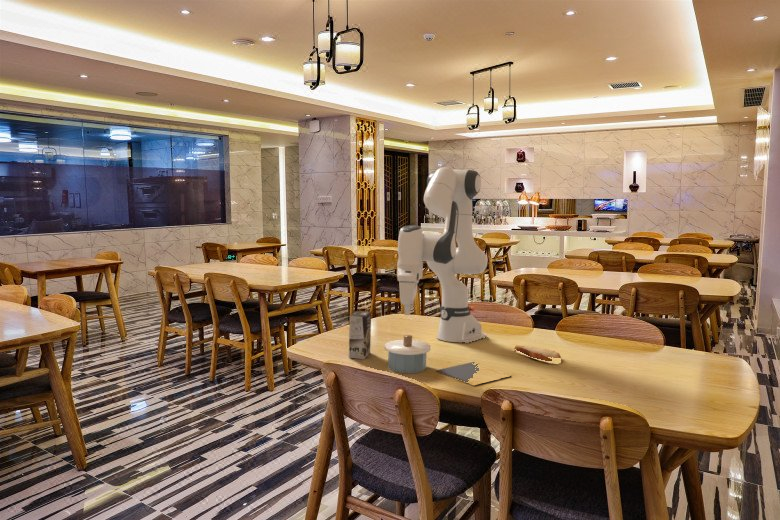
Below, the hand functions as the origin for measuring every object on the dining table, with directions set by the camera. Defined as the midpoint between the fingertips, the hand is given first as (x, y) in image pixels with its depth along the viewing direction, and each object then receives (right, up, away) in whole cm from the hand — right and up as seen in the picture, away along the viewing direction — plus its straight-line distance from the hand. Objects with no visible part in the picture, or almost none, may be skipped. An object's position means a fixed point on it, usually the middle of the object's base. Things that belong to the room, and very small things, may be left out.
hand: (408, 311), depth 193 cm
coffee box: (-18, -18, +15) cm, 30 cm away
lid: (0, -13, +1) cm, 13 cm away
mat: (+22, -21, -3) cm, 31 cm away
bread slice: (+50, -20, +20) cm, 57 cm away
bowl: (-1, -20, +2) cm, 20 cm away
